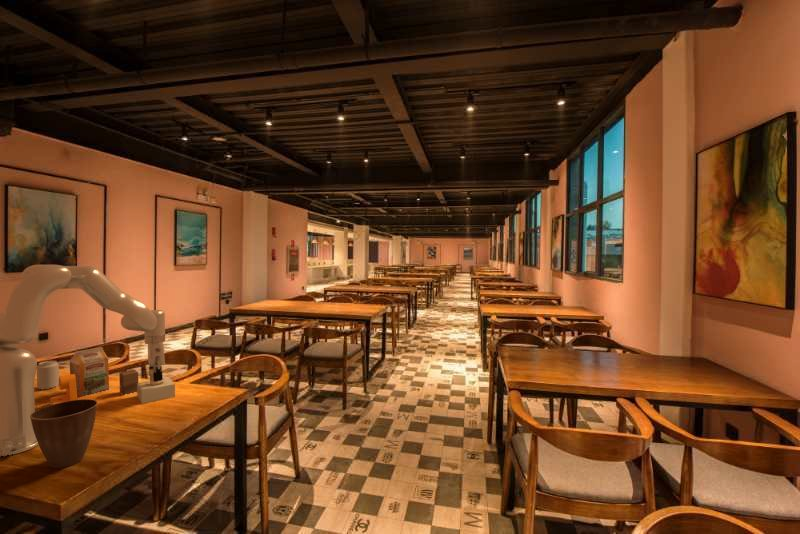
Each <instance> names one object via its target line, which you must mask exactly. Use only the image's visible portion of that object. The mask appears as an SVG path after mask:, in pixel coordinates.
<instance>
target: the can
mask: <svg viewBox="0 0 800 534" xmlns="http://www.w3.org/2000/svg"><path fill="white" fill-rule="evenodd" d="M59 368H60V364H59V363H58V362H57V360H46V361H41V362H39V363H38V364H37V368H36V383H37V384H36V388H37V389H39V390H40V389H41V391H45V390H44V389H47V390H51V389H50V388H52V389H55V388H57V387H59V377H60V369H59ZM56 386H57V387H56ZM54 387H55V388H54Z"/></svg>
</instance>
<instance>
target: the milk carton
mask: <svg viewBox="0 0 800 534" xmlns="http://www.w3.org/2000/svg"><path fill="white" fill-rule="evenodd" d="M109 369H110V368H109V358H108V356H107V354H106V352H105V351H104V348H103V347H101V346H100V347H95V348H89V349H84V350H78V351H75V352H73V356H72V357H71V358H70V360H69V375H71V374H75V377H76V387H77V397H78V396H79V398H83V396H84V397H87V396H86V395H88V396H91V394H92V395H95V394H94V393H96V394H99V393H103V392H107V391H110V377H109V376H110V375H109ZM106 390H107V391H106ZM102 391H103V392H102ZM98 392H99V393H98Z"/></svg>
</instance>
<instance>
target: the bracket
mask: <svg viewBox="0 0 800 534" xmlns="http://www.w3.org/2000/svg"><path fill="white" fill-rule="evenodd" d="M58 387H59V390H60V391H61V390H65V394H62V395H57V396H53V397H50V399H49V403H50V405H53V404H57V403H61V402H66V401H72V400H79V398H78V396H77V387H76V377H75V374H71V375H70V374H66V375H62V376H60V375H59V385H58Z"/></svg>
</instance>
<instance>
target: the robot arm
mask: <svg viewBox="0 0 800 534" xmlns="http://www.w3.org/2000/svg"><path fill="white" fill-rule="evenodd" d="M63 289H64V290H65V289H77V290H78V289H79V290H81V291H83V292H84V293H85V294H86V295H88V296H89V297H90V298H91V299H92V300H94V301H95V302H96V303H97V304H98V305H99V306H101V308H104V309H106V310H108V311H111V312H114V313H117V314H120V315H122V318H121V319H120V325H121V327H122V328H124V329H125V330H128V331H134V332H135V331H136V332H143V334H144V344H145V345H147V362H148V365H149V367H148V371H149V372H148V374H149V377H150V369H152V368H154V372H153V381H154V382H156V381H161V380H163V366H165V365H166V361H165V359H166V358H165V347H164V343H165V342H166V317H165V316H166V315H165V314H166V313H165V311H164V310H162V309H154V310H151V309H150V308H148V306H146V305H145V304H144V303H143V302H141V301H140V300H138V299H137V298H134V297H133V296H131V295H129V294H127V293H126V292H124V291H122V290H121V289H120V288H119V286H117V285H116V284H115V283H114V282H113V281H112V280H111V279H110V278H108V276H106V275H105V274H104V272H102V271H101V270H100V269H99V268H97V267H95V266H88V265H83V266H82V265H78V266H77V265H60V264H33V265H30V266H28V267H26V268H24V270H23V271H22V273H21V281H20V282H18V284H17V285H16V286H15V287H14V288H13V289H12V291H11V292H10V295H9V297H8V301H7V304H6V307H5V311H4V312H2V313H0V458H2V457H1V456H3V457H8V456H7V455H9V456H13V455H16V454H20V453H24V452H26V451H29V450H31V449H34V448H36V447H38V446H39V444H38V442H37V439H36V437H35V434H34V430H33V427H32V423H31V418H30V415H31V414H32V413H33V412H35V411H36V403H35V399H36V398H35V379H36V374H37V366H38V360H37V357H36V356H35V355H34V353H33V352H31V351H29V350H27V349H24V348H18V345H20V344H21V345H22V344H26V343H30V342H32V341H33V340H34V339H35V338H36V337H37V335H38V333H39V329H40V328H39V327H40V324H41V320H42V314H43V309H44V306H45V303H46V301H47V299H48V297H49V296H50V295H51V294H52V293H53V294H54V292H56V291H57V290H63ZM12 454H13V455H12Z"/></svg>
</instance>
